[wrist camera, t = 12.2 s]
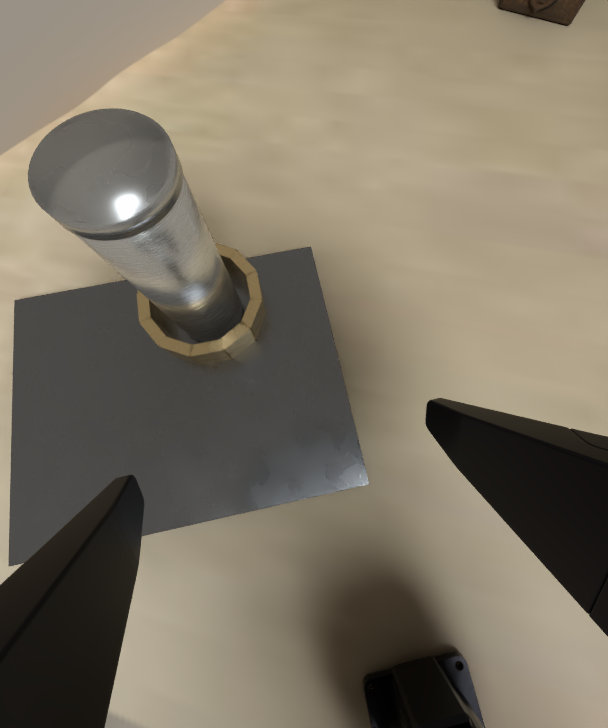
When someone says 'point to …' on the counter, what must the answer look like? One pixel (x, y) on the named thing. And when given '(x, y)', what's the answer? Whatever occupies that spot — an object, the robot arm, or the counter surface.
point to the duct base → (177, 403)
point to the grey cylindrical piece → (136, 214)
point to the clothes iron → (545, 9)
